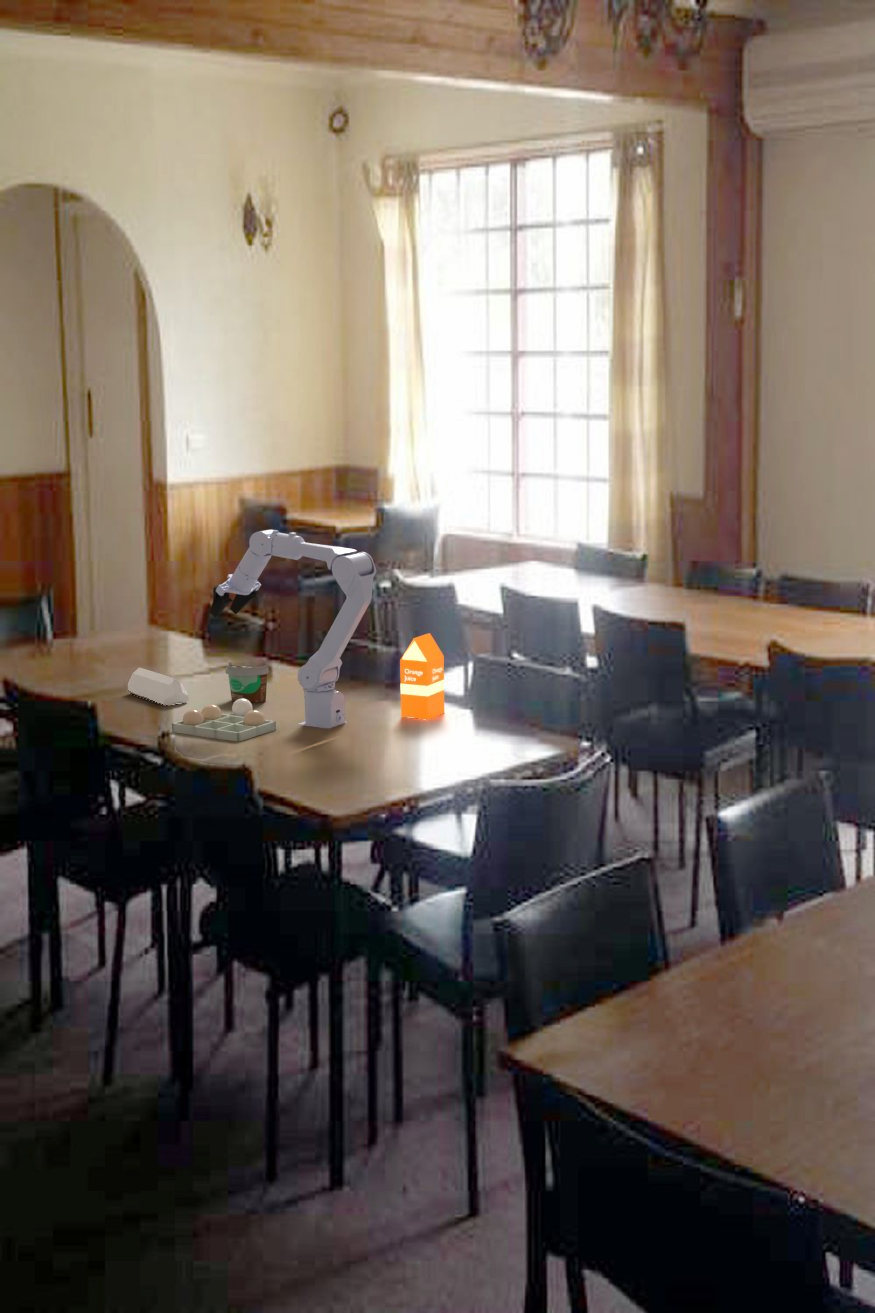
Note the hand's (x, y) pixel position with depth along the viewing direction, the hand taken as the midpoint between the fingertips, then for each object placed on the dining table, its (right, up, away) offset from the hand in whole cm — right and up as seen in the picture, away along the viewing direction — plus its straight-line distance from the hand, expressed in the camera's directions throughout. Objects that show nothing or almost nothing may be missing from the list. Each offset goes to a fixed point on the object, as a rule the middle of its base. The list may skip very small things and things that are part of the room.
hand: (223, 613), depth 407 cm
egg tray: (+2, -29, -16) cm, 33 cm away
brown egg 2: (-2, -27, -9) cm, 29 cm away
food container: (+3, -23, +17) cm, 29 cm away
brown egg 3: (+10, -28, -16) cm, 34 cm away
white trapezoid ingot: (-20, -22, +25) cm, 39 cm away
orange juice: (+49, -26, 0) cm, 56 cm away
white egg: (+5, -26, -2) cm, 27 cm away
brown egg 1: (-5, -28, -15) cm, 32 cm away
